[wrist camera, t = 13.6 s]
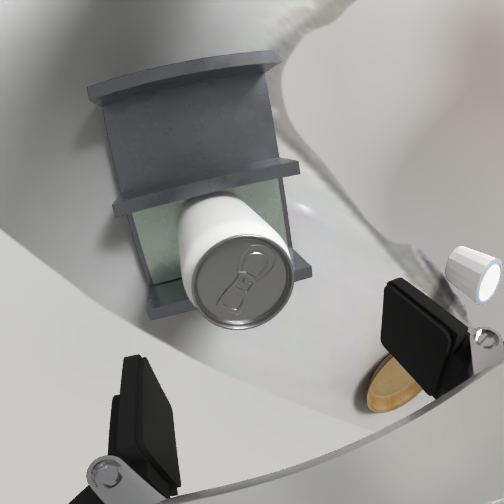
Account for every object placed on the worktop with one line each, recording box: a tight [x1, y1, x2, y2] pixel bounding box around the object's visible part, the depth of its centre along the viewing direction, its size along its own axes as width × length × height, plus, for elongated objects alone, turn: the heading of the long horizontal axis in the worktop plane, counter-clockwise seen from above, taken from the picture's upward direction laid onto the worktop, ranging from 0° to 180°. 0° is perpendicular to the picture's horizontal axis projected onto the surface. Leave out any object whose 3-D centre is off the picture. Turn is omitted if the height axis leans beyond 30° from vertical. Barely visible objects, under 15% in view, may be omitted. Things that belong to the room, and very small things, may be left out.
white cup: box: [445, 246, 503, 305], centre depth 36 cm, size 7×7×7 cm
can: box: [178, 191, 294, 330], centre depth 22 cm, size 6×6×12 cm
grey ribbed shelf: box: [87, 50, 312, 320], centre depth 25 cm, size 20×14×6 cm
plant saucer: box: [367, 354, 423, 413], centre depth 43 cm, size 15×15×3 cm
